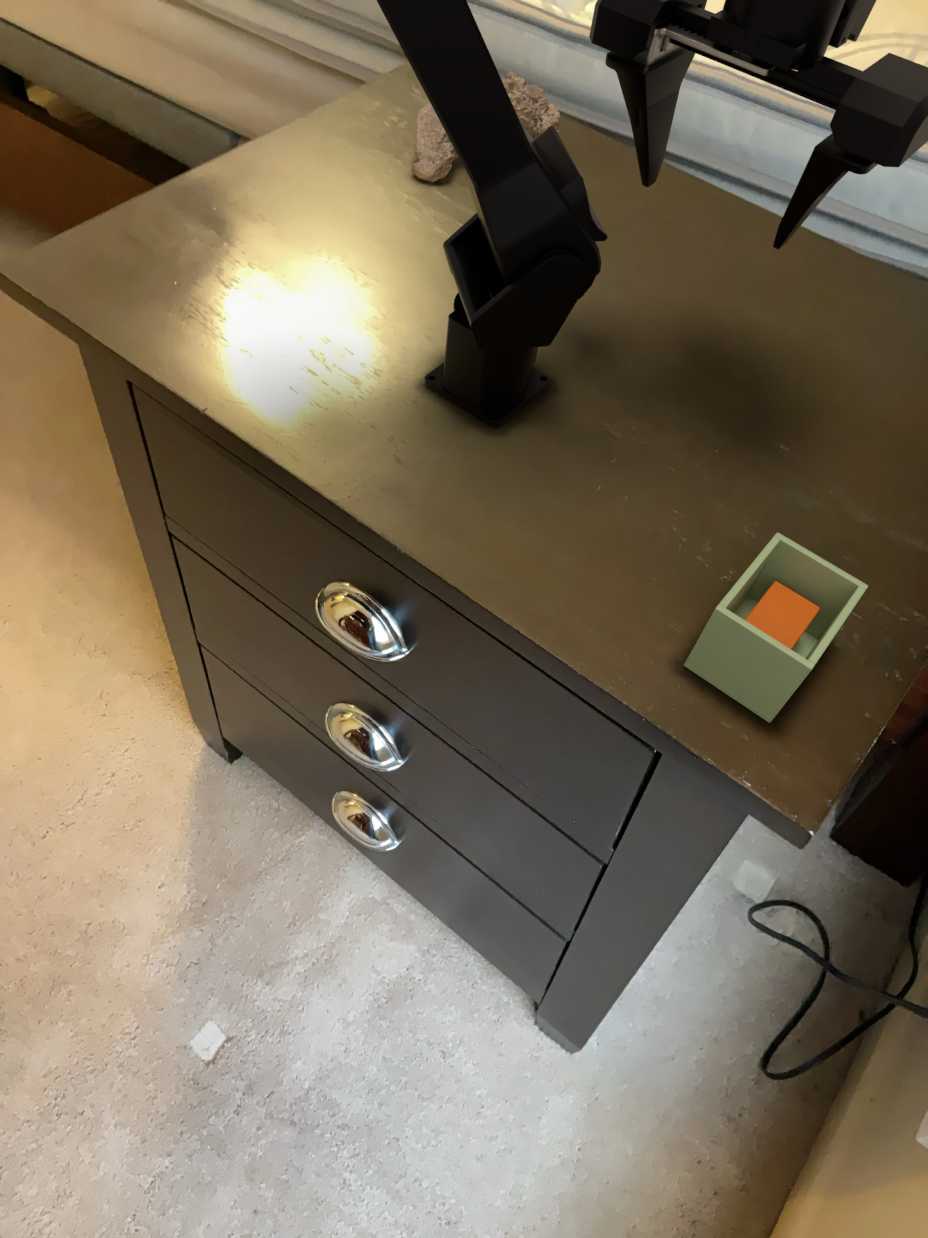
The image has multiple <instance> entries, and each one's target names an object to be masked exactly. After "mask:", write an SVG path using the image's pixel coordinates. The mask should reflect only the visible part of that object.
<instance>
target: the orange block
mask: <svg viewBox="0 0 928 1238" xmlns="http://www.w3.org/2000/svg"><path fill="white" fill-rule="evenodd" d="M819 610H820V607H818V606H817V605H815V604H814V603H812V602H810V601H809V600H807V599H805V598H804V597H802V596H800V595H799V594H797V593H795V592H794V591H792V590H791V589H789V588H787V587H786V586H784V585H782V584H781V583H779V582H777V581H774V582H773V584H772V585H771V586H770V588H769V589H768V590H767V591H766V593H765V594H764V595H763V597H762V598H761V599H760V601H759V602H758V603H757V604H756V606H755V607H754V608H753V610H752V611H751V612H750V613H749V615H748V616H747V617H746V619H745V621H747V622H748V623H750V624H752V625H753V626H755V627H756V628H758V629H759V630H761V631H763V632H764V633H766V634H767V635H769V636H770V637H772V638H774V639H775V640H777V641H778V642H780V643H782V644H783V645H785V646H786V647H788V648H789V649H791V650H792V649H793V647H794V646H795V644H796V643H797V641H798V640H799V639H800V637H801V636H802V634H803V633H804V632H805V630H806V629H807V627H808V626H809V625H810V623H811V622H812V620H813V619H814V617H815V616H816V615H817V613H818V612H819Z"/></svg>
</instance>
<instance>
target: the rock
mask: <svg viewBox="0 0 928 1238" xmlns="http://www.w3.org/2000/svg"><path fill="white" fill-rule="evenodd" d="M501 80H502V82H503V84H504V87H505V89H506V91H507V93H508V96H509V98H510V100H511V102H512V105H513V107H514V109H515V112H516V114H517V116H518V118H519V121H520V123H521V125H522V126H523V127H524V129H525V130H526V131H527V132H528V133H529V135H530V136H531V137H532V138H533V140H535V139H537V138H538V137H539V136H540V135H541V134H542V133H544V132H545V131H546V130H547V129H548V128H549V127H551V126H554V127H555V129H556V130H557V132H558V134H559V135H560V124H561V115H560V114H561V113H560V109H559V107H558V106H556V105H555V104H552V103H551V104H549V101H548V97H546V96H545V95H546V92H545V90H544V89H543V88H542V86H540V85H539V84H538V83H537V84H527V80H526V78H524V77H523V76H521V75H520V74H518V73H517V72H516V70H514V71H512V70H510V71H509V72H507V73H505V77H504V78H502V79H501ZM456 155H457V153H456V151H455V149H454V147H453V145H452V143H451V141H450V139H449V137H448V136H447V134H446V132H445V130H444V128H443V126H442V124H441V122H440V120H439V118H438V116H437V115H436V113H435V111H434V109H433V107H432V105H431V103H430V101H429V102H427V103H426V104H425V105H424V106H423V107H422V108H421V109H420V110H419V111H418V113H417V116H416V121H415V125H414V141H413V157H414V159H418V160H419V161H417V162H414V163H412V169H413V172H414V174H415V175H416V178H418V179H420V180H422V181H427V182H431V183H435V182H437V181H439V180H440V179H445V177H446V176H448V174H449V173H450V171H451V170H452V167H453V162H454V161H456Z"/></svg>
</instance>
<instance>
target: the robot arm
mask: <svg viewBox="0 0 928 1238" xmlns="http://www.w3.org/2000/svg"><path fill="white" fill-rule="evenodd" d="M376 2H377V4H378V6H379V8H380V10H381V12H382V13H383V16H384V17H385V19H386V22H387V23H388V25H389V27H390V29H391V31H392V32H393V34H394V36H395V39H396V40H397V42H398V44H399V46H400V48H401V50H402V52H403V53H404V56H405V57H406V60H407V61H408V63H409V65H410V67H411V69H412V71H413V73H414V75H415V76H416V78H417V80H418V81H419V84H420V86H421V88H422V90H423V92H424V94H425V96H426V97H427V99H428V101H429V102H430V103H431V105H432V107H433V109H434V111H435V113H436V115H437V116H438V118H439V120H440V122H441V124H442V126H443V128H444V130H445V132H446V134H447V136H448V137H449V139H450V141H451V143H452V145H453V147H454V149H455V151H456V153H457V154H456V155H457V157H458V159H459V160H460V162H461V164H462V166H463V169H464V172H465V176H466V179H467V183H468V187H469V191H470V194H471V197H472V200H473V204H474V208H475V210H476V213H474V214H473V215H472V216H471V217H470V218H469V219H468V220H467V221H466V222H464V223H463V225H461V226H460V227H459V228H458V229H457V230H456V231H454V233H452V234H451V235H450V236H449V237H448V238H446V240H444V242H443V244H442V249H443V251H444V255H445V258H446V262H447V266H448V268H449V271H450V273H451V275H452V277H453V281H454V283H455V285H456V289H457V291H458V292H457V293H456V294H455V297H454V299H453V306H452V312H451V313H449V314H448V318H447V328H446V340H445V351H444V361H443V362H442V363H441V364H440V365H438V366H437V367H436V368H434V369H433V370H431V371H430V372H429V373H427V374H425V376H424V382H423V383H424V385H425V386H426V387H427V388H429V389H430V390H432V391H434V392H435V393H437V394H439V395H440V396H442V397H443V398H445V399H446V400H448V401H450V402H451V403H453V404H455V405H457V406H458V407H460V408H461V409H463V410H464V411H466V412H468V413H469V414H471V415H473V416H475V417H476V418H477V419H479V420H480V421H483V422H484V423H486V424H487V425H489V426H490V427H494V428H495V427H500V426H502V425H503V424H504V423H505V422H507V421H508V420H509V419H510V418H512V417H513V416H514V415H515V414H516V413H519V411H520V410H521V409H523V408H524V407H525V406H527V404H529V403H531V401H533V400H534V399H536V397H538V396H539V395H540V394H541V393H543V392H544V391H545V390H546V389H547V388H549V387H550V384H551V380H552V379H551V376H549V375H548V374H546V373H544V372H543V371H541V370H539V369H538V368H535V367H534V366H535V362H536V359H537V354H538V348H539V347H540V348H543V347H549V346H551V345H552V343H553V341H554V340H555V338H556V337H557V335H558V333H559V332H560V330H561V328H562V327H563V325H564V324H565V322H566V320H567V319H568V317H569V315H570V314H571V312H572V310H573V309H574V307H575V306H576V304H577V303H578V301H579V300H580V299H582V298H583V296H584V295H585V294H586V293H587V292H588V290H589V289H590V288H591V287H592V286H593V283H594V282H595V279H596V277H597V276H598V275H599V274H600V273H601V271H602V258H601V252H600V247H599V246H598V244H597V242H605V241H607V239H608V235H607V233H606V231H605V229H604V227H603V225H602V223H601V222H600V220H599V218H598V216H597V214H596V212H595V210H594V208H593V207H592V205H591V203H590V201H589V197H588V192H587V189H586V184H585V181H584V178H583V176H582V174H581V172H580V170H579V169H578V167H577V165H576V163H575V161H574V160H573V158H572V155H571V154H570V153H569V150H568V149H567V147H566V145H565V143H564V142H563V139H562V138H561V135H560V133H559V134H558V132H557V130H556V129H555V127H554V126H551V127H549V128H548V129H547V130H546V131H545V132H544V133H542V134H541V135H540V136H539V137H538V138H537V139H535V140H533V138H532V137H531V136H530V135H529V133H528V132H527V131H526V130H525V129H524V127H523V126H522V125H521V123H520V121H519V118H518V116H517V114H516V112H515V109H514V107H513V105H512V102H511V100H510V98H509V96H508V93H507V91H506V89H505V87H504V84H503V82H502V80H503V79H502V77H501V76H500V73H499V71H498V69H497V66H496V64H495V62H494V60H493V58H492V55H491V53H490V51H489V49H488V45H487V44H486V42H485V38H484V37H483V35H482V32H481V30H480V28H479V26H478V23H477V21H476V19H475V17H474V15H473V12H472V9H471V8H470V6H469V3H468V1H467V0H376ZM876 2H877V0H725V1H724V4H723V7H722V10H720V11H718V12H715V13H714V12H712V11H710V10H707V9H706V6H707V3H708V0H596V2H595V4H594V9H593V14H592V20H591V24H590V31H589V36H588V38H589V40H590V42H591V44H592V45H596V46H598V47H600V48H603V49H604V50H607V51H608V52H607V53H606V55H605V65H606V67H607V68H609V69H611V70H613V71H614V72H615V73H616V76H617V79H618V82H619V87H620V91H621V93H622V97H623V100H624V104H625V108H626V110H627V111H626V112H627V114H628V118H629V121H630V127H631V132H632V136H633V142H634V148H635V153H636V159H637V164H638V170H639V175H640V180H641V185H642V186H643V187H644V188H649V187H652V185H654V184H655V183H656V182H657V179H658V177H659V174H660V172H661V168H662V166H663V162H664V159H665V155H666V151H667V147H668V142H669V140H670V139H669V138H670V134H671V129H672V125H673V121H674V116H675V112H676V108H677V102H678V98H679V95H680V90H681V87H682V83H683V81H684V78H685V76H686V74H687V72H688V70H689V69H690V65H692V61H694V58H695V55H699V56H702V57H705V58H706V59H708V60H711V61H714V62H716V63H718V64H721V65H723V66H726V67H729V68H731V69H734V70H736V71H739V72H741V73H743V74H746V75H748V76H751V77H753V78H755V79H757V80H760V81H762V82H765V83H767V84H770V85H772V86H775V87H777V88H780V89H782V90H785V91H787V92H790V93H792V94H795V95H796V96H799V97H801V98H804V99H806V100H810V101H811V102H814V103H816V104H818V105H821V106H824V107H827V108H828V109H831V110H833V111H834V113H833V116H832V118H831V121H830V123H829V127H830V131H831V133H830V134H829V135H828V136H826V137H825V138H824V139H822V140H821V141H820V142H818V143H817V144H816V145H815V146H814V147H813V150H812V152H811V154H810V156H809V158H808V161H807V163H806V165H805V167H804V170H803V171H802V174H801V176H800V178H799V181H798V183H797V185H796V187H795V189H794V191H793V194H792V196H791V198H790V200H789V202H788V204H787V207H786V209H785V211H784V213H783V216H782V218H781V220H780V222H779V224H778V227H777V228H776V229H777V230H776V233H775V237H774V239H773V245H772V247H773V249H775V250H780V249H781V248H782V247H784V246H785V245H786V244H787V243H788V242H789V240H790V239H791V238H792V237H793V236H794V234H795V233H796V232H797V231H798V230H799V228H800V227H801V226H802V225H803V224H804V223H805V221H806V220H807V219H808V218H809V217H810V215H811V214H812V213H813V212H814V211H815V209H816V208H817V207H818V206H819V205H820V204H821V202H822V201H823V200H824V199H825V197H826V196H827V195H828V194H829V193H830V192H831V191H832V189H833V188H834V187H835V186H836V185H837V184H838V182H840V180H842V179H843V177H844V176H846V174H848V173H849V172H850V173H851V174H852V173H853V174H856V175H867V174H869V173H870V172H871V171H872V170H873V169H874V168H876V166H881V167H883V168H900V167H901V166H902V165H903V164H904V163H905V162H906V161H908V159H910V158H911V157H912V156H913V155H915V153H916V152H917V151H918V150H920V149H921V148H922V147H923V146H924V145H926V144H927V143H928V66H925V65H923V64H920V63H918V62H915V61H913V60H910V59H907V58H905V57H902V56H900V55H897V54H894V53H892V52H888V53H886V54H885V55H884V56H882V57H881V58H879V59H878V60H877V61H875V62H874V63H872V64H871V65H869V66H868V67H867V68H865V69H864V70H861V69H858V68H856V67H853V66H851V65H848V64H846V63H843V62H840V61H838V60H835V59H833V58H830V57H828V56H825V54H826V52H827V49H828V47H829V46H830V47H832V48H835V49H839V48H840V47H841V46H843V45H844V44H846V43H847V42H848V41H850V42H855V43H856V42H857V41H858V39H859V37H860V34H861V32H862V31H863V29H864V27H865V25H866V23H867V20H868V18H869V17H870V15H871V12H872V10H873V9H874V6H875V4H876Z"/></svg>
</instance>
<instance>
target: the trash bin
mask: <svg viewBox="0 0 928 1238" xmlns="http://www.w3.org/2000/svg"><path fill="white" fill-rule="evenodd" d="M774 581H777V582H779V583H781V584H782V585H784V586H786V587H787V588H789V589H791V590H792V591H794V592H795V593H797V594H799V595H800V596H802V597H804V598H805V599H807V600H809V601H810V602H812V603H814V604H815V605H817V606H818V607H820V610H819V612H818V613H817V615H816V616H815V617H814V619H813V620H812V622H811V623H810V625H809V626H808V627H807V629H806V630H805V632H804V633H803V634H802V636H801V637H800V639H799V640H798V641H797V643H796V644H795V646H794V647H793V649H792V650H791V649H789V648H788V647H786V646H785V645H783V644H782V643H780V642H778V641H777V640H775V639H774V638H772V637H770V636H769V635H767V634H766V633H764V632H763V631H761V630H759V629H758V628H756V627H755V626H753V625H752V624H750V623H748V622H747V621H745V619H746V617H747V616H748V615H749V613H750V612H751V611H752V610H753V608H754V607H755V606H756V604H757V603H758V602H759V601H760V599H761V598H762V597H763V595H764V594H765V593H766V591H767V590H768V589H769V588H770V586H771V585H772V584H773V582H774ZM868 588H869V585H868V584H867V583H865V582H863V581H862V580H860V579H858V578H856V577H855V576H853V575H851V574H849V573H847V572H846V571H844V570H843V569H842V568H839V567H838V566H836V565H834V564H832V563H831V562H829V561H828V560H826V559H824V558H822V557H821V556H819V555H817V554H815V553H814V552H812V551H810V550H809V549H807V548H806V547H804V546H802V545H800V544H799V543H797V542H795V541H793V540H792V539H790V538H789V537H787V536H785V535H783V534H781V533H780V532H776V533H775V534H774V535H773V536H772V538H771V539H770V540H769V541H768V543H767V544H766V545H765V546H764V548H763V549H762V550H761V551H760V553H758V555H757V556H756V557H755V559H754V560H753V561H752V562H751V563H750V565H749V566H748V567H747V568H746V569H745V571H744V572H743V573H742V575H741V576H740V577H739V578H738V580H737V581H736V582H735V583H734V584H733V585H732V586H731V588H730V590H729V591H728V592H727V593H726V595H724V597H723V598H722V599H721V600H720V601H719V603H718V604H717V605H716V606H715V608H714V610H713V611H712V614H711V615H710V617H709V619H708V620H707V623H706V624H705V626H704V628H703V629H702V631H701V633H700V635H699V637H698V639H697V641H696V642H695V644H694V646H693V648H692V650H691V652H690V653H689V655H688V656H687V659H686V660H685V662H684V664H683V667H685V668H686V669H688V670H689V671H691V672H693V673H694V674H696V675H697V676H699V677H700V678H701V679H703V680H704V681H706V682H707V683H709V684H710V685H711V686H713V687H715V688H716V689H718V690H719V691H721V692H723V693H724V694H725V695H727V696H728V697H730V698H731V699H733V700H734V701H736V702H737V703H739V704H740V705H742V706H743V707H745V708H747V709H748V710H749V711H751V712H752V713H754V714H755V715H757V716H758V717H759V718H761V719H763V720H764V721H766V722H767V723H769V724H771V722H772V721H773V720H774V719H775V718H776V716H777V715H778V714H779V712H780V711H781V710H782V709H783V708H784V706H785V705H786V703H788V701H789V700H790V698H791V697H792V696H793V694H794V693H795V692H796V690H797V689H798V688H799V687H800V686H801V685H802V683H803V682H804V681H805V679H806V678H807V677H808V675H809V674H810V673H811V672H812V670H813V669H814V667H815V666H816V665H817V663H818V661H819V660H820V658H821V657H822V655H824V653H825V651H826V650H827V648H828V647H829V645H830V644H831V642H832V641H833V640H834V638H835V637H836V635H837V634H838V633H839V631H840V629H841V628H842V626H843V624H844V623H845V621H847V619H848V617H849V616H850V615H851V613H852V611H853V610H854V609H855V607H856V605H857V604H858V602H859V601H860V599H862V597H863V595H864V594H865V592H866V591H867V590H868Z"/></svg>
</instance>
